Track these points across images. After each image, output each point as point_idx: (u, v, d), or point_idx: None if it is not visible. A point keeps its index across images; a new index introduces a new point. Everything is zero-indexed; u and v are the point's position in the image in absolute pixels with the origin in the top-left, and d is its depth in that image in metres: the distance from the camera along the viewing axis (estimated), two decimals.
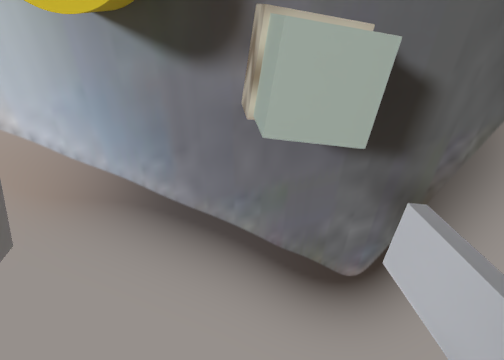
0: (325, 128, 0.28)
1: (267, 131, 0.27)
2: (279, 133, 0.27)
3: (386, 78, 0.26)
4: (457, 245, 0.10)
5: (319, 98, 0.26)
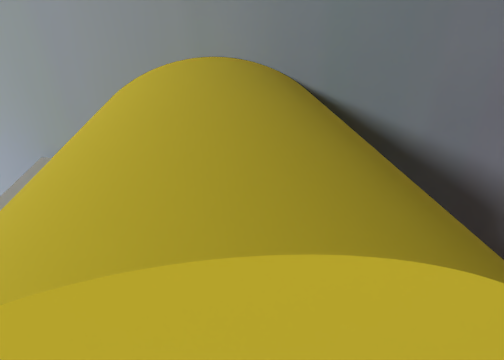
0: None
1: None
2: None
3: None
4: None
5: None
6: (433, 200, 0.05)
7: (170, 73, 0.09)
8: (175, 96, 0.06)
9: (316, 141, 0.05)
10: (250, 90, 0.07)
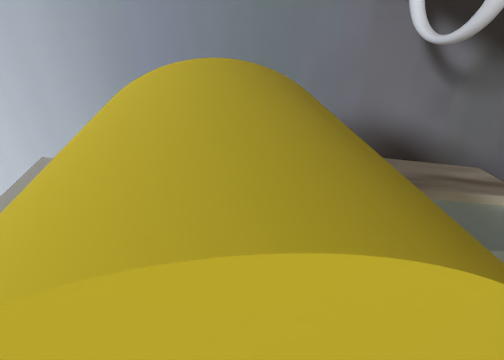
0: None
1: None
2: None
3: None
4: None
5: None
6: (430, 200, 0.05)
7: (170, 74, 0.09)
8: (175, 97, 0.06)
9: (315, 142, 0.05)
10: (250, 91, 0.07)
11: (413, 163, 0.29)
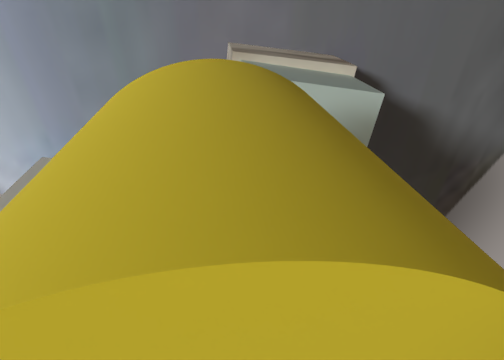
0: None
1: None
2: None
3: (368, 137, 0.23)
4: None
5: None
6: (428, 204, 0.05)
7: (168, 75, 0.09)
8: (173, 99, 0.06)
9: (312, 145, 0.05)
10: (247, 93, 0.07)
11: (261, 47, 0.31)
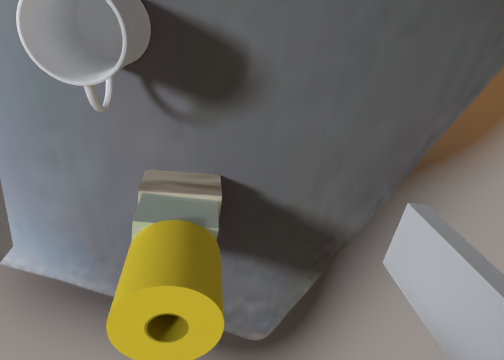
0: None
1: None
2: None
3: None
4: (457, 245, 0.10)
5: None
6: (199, 275, 0.30)
7: (159, 232, 0.34)
8: (159, 249, 0.31)
9: (180, 266, 0.30)
10: (175, 246, 0.32)
11: (168, 172, 0.45)
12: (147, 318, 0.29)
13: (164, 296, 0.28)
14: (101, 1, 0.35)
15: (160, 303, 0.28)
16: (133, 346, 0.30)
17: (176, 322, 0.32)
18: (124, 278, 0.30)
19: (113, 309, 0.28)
